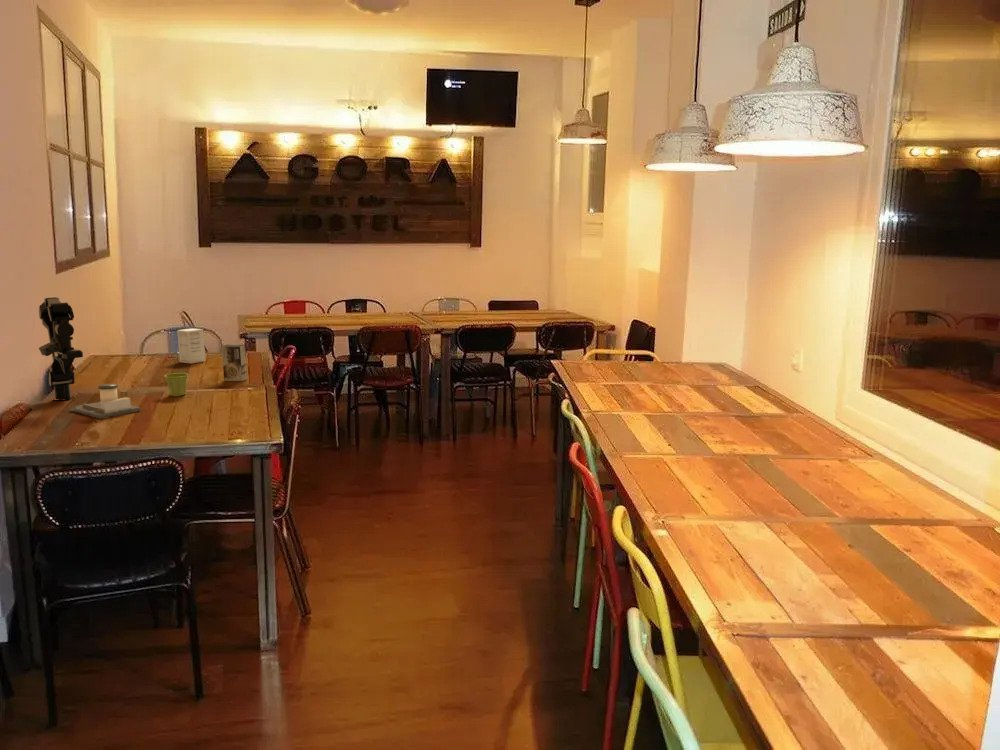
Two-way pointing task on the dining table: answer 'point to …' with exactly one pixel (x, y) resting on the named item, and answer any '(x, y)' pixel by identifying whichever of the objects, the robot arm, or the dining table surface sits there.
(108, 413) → the knob mount
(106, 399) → the knob
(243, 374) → the coffee box
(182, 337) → the supplement box
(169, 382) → the plant pot
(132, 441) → the dining table surface
